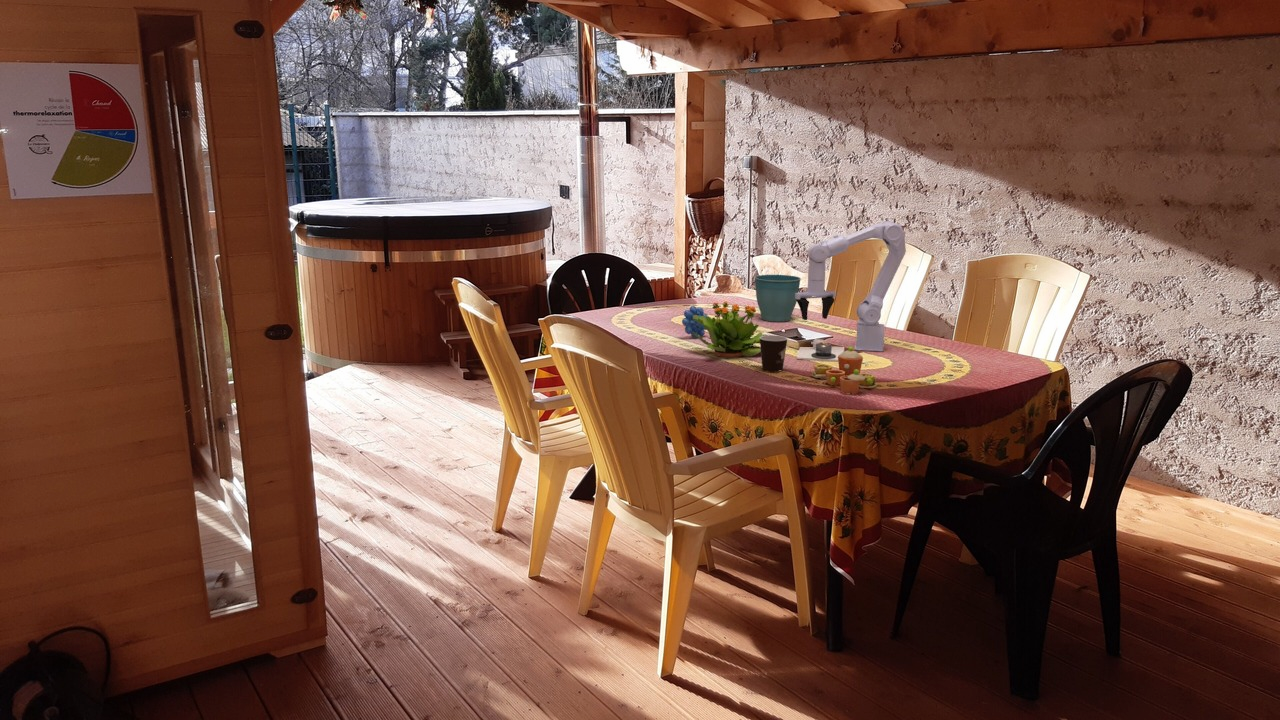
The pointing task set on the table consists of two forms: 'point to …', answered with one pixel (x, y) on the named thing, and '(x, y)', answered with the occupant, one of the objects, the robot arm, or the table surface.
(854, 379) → the toy tea set
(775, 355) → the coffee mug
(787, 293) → the flower pot
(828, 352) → the knob
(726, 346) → the potted flower
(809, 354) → the board
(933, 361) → the table surface
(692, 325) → the grapes
